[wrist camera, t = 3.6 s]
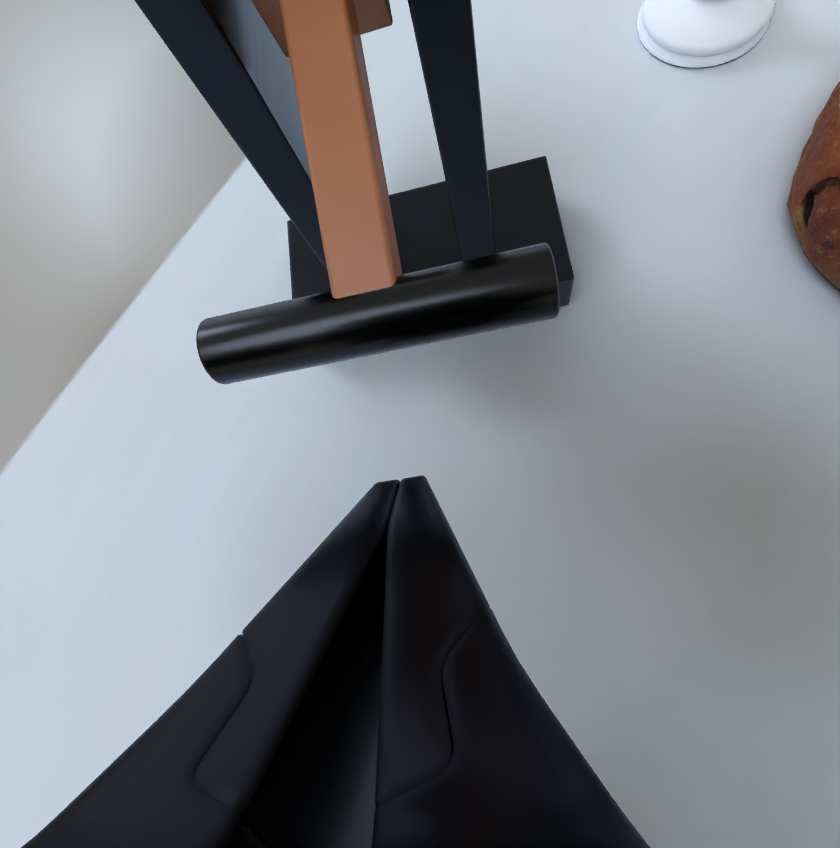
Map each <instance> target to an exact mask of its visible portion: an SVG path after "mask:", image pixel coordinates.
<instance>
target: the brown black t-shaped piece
mask: <svg viewBox="0 0 840 848" xmlns="http://www.w3.org/2000/svg"><path fill="white" fill-rule="evenodd" d="M251 1H252V3H253V4H254V6H255V8H256V9H257V11H258V12H259V14H260V16H261V17H262V19H263V21H264V22H265V24H266V25H267V27H268V29H269V30H270V32H271V34H272V35H273V37H274V39H275V40H276V42H277V43H278V45H279V47H280V48H281V50H282V52H283V53H284V55H285V56H286V57H289V58H290V63H291V69H292V74H293V80H294V86H295V91H296V97H297V102H298V108H299V113H300V119H301V125H302V130H303V136H304V141H305V147H306V152H307V158H308V164H309V169H310V175H311V180H312V186H313V192H314V197H315V203H316V208H317V214H318V219H319V225H320V231H321V236H322V242H323V247H324V253H325V258H326V264H327V270H328V275H329V281H330V286H331V291H327V292H323V293H318V294H314V295H309V296H305V297H300V298H296V299H292V300H287V301H283V302H278V303H274V304H269V305H265V306H261V307H256V308H252V309H247V310H243V311H238V312H234V313H229V314H225V315H221V316H216V317H212V318H207V319H205V320H203V321H202V322H201V323H200V325H199V327H198V330H197V336H196V341H197V349H198V353H199V357H200V360H201V362H202V364H203V366H204V368H205V370H206V371H207V373H208V374H209V375H210V377H211V378H212V379H214V380H215V381H216V382H218V383H221V384H230V383H235V382H240V381H245V380H250V379H255V378H260V377H264V376H269V375H274V374H279V373H284V372H289V371H294V370H299V369H304V368H309V367H314V366H319V365H324V364H329V363H334V362H339V361H344V360H349V359H354V358H359V357H364V356H369V355H374V354H379V353H384V352H389V351H394V350H399V349H404V348H409V347H414V346H419V345H424V344H429V343H434V342H439V341H444V340H449V339H454V338H459V337H464V336H469V335H474V334H479V333H484V332H489V331H494V330H499V329H504V328H509V327H514V326H519V325H523V324H528V323H533V322H538V321H543V320H548V319H553V318H556V317H557V316H558V313H559V289H558V280H557V274H556V268H555V263H554V259H553V255H552V252H551V249H550V247H549V245H548V244H547V243H540V244H536V245H531V246H527V247H522V248H518V249H513V250H509V251H505V252H500V253H496V254H491V255H487V256H482V257H478V258H473V259H469V260H465V261H460V262H456V263H451V264H447V265H442V266H438V267H434V268H429V269H425V270H420V271H416V272H411V273H407V274H402V269H401V263H400V257H399V252H398V246H397V241H396V235H395V229H394V224H393V218H392V212H391V207H390V201H389V195H388V190H387V184H386V178H385V173H384V167H383V161H382V156H381V150H380V144H379V139H378V133H377V128H376V122H375V116H374V111H373V105H372V99H371V94H370V88H369V82H368V77H367V71H366V65H365V60H364V54H363V48H362V43H361V37H360V35H361V34H364V33H368V32H371V31H374V30H377V29H381V28H384V27H387V26H390V25H392V22H393V21H392V15H391V9H390V4H389V0H251Z"/></svg>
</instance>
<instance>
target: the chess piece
mask: <svg viewBox="0 0 840 848" xmlns="http://www.w3.org/2000/svg"><path fill="white" fill-rule="evenodd" d="M775 3H776V0H644V1H643V5H642V7H641V9H640V11H639V14H638V19H637V30H638V34H639V37H640V40H641V42H642V43H643V45H644V46H645V48H646V49H647V50H648V51H649V52H650V53H651V54H653V55H654V56H655V57H657V58H658V59H660V60H662V61H664V62H667V63H669V64H673V65H676V66H681V67H690V68H701V67H710V66H715V65H719V64H723V63H726V62H728V61H731V60H733V59H735V58H737V57H739V56H741V55H743V54H744V53H746V52H747V51H749V50H750V49H751V48H752V47H754V46H755V45H756V44H757V43H758V42H759V40H760V39H761V38H762V37H763V35H764V34H765V32H766V30H767V28H768V26H769V23H770V20H771V15H772V13H773V10H774V7H775Z"/></svg>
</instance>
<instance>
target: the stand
mask: <svg viewBox="0 0 840 848" xmlns="http://www.w3.org/2000/svg"><path fill="white" fill-rule="evenodd" d="M135 2H136V3H137V4H138V6H139V7H140V9H141V10H142V11H143V13H144V14H145V16H146V17H147V18H148V20H149V21H150V23H151V24H152V25H153V27H154V28H155V30H156V31H157V32H158V34H159V35H160V37H161V38H162V39H163V41H164V42H165V44H166V45H167V47H168V48H169V49H170V51H171V52H172V53H173V55H174V56H175V58H176V59H177V60H178V62H179V63H180V65H181V66H182V68H183V69H184V70H185V71H186V73H187V75H188V76H189V77H190V79H191V80H192V81H193V83H194V84H195V86H196V87H197V88H198V90H199V91H200V93H201V94H202V96H203V97H204V98H205V100H206V101H207V103H208V104H209V105H210V107H211V108H212V110H213V111H214V112H215V114H216V115H217V117H218V118H219V119H220V121H221V122H222V124H223V125H224V126H225V128H226V129H227V131H228V132H229V133H230V135H231V136H232V138H233V139H234V140H235V142H236V143H237V144H238V146H239V147H240V149H241V150H242V152H243V153H244V154H245V156H246V157H247V159H248V160H249V161H250V163H251V164H252V166H253V167H254V169H255V170H256V171H257V173H258V174H259V176H260V177H261V178H262V180H263V181H264V183H265V184H266V185H267V187H268V188H269V190H270V191H271V192H272V194H273V195H274V197H275V198H276V199H277V201H278V202H279V204H280V205H281V206H282V208H283V209H284V211H285V212H286V213H287V215H288V216H289V218H290V219H291V220H289V221H287V225H288V241H289V256H290V271H291V286H292V299H296V298H300V297H305V296H309V295H314V294H318V293H323V292H327V291H331V286H330V281H329V275H328V270H327V264H326V258H325V253H324V247H323V242H322V236H321V231H320V225H319V219H318V214H317V208H316V203H315V197H314V192H313V186H312V180H311V175H310V169H309V164H308V158H307V152H306V147H305V141H304V136H303V130H302V125H301V119H300V113H299V108H298V102H297V97H296V91H295V86H294V80H293V74H292V69H291V63H290V58H289V57H286V56H285V55H284V53H283V52H282V50H281V48H280V47H279V45H278V43H277V42H276V40H275V39H274V37H273V35H272V34H271V32H270V30H269V29H268V27H267V25H266V24H265V22H264V21H263V19H262V17H261V16H260V14H259V12H258V11H257V9H256V8H255V6H254V4H253V3H252V1H251V0H135ZM408 3H409V8H410V13H411V18H412V22H413V27H414V32H415V37H416V41H417V46H418V51H419V56H420V60H421V65H422V70H423V75H424V79H425V84H426V89H427V94H428V98H429V103H430V108H431V113H432V117H433V122H434V127H435V132H436V136H437V141H438V146H439V151H440V155H441V160H442V165H443V170H444V174H445V179H446V181H444V182H440V183H436V184H432V185H428V186H424V187H420V188H416V189H412V190H408V191H404V192H400V193H396V194H392V195H389V201H390V207H391V212H392V218H393V224H394V229H395V235H396V241H397V246H398V252H399V257H400V263H401V269H402V274H407V273H411V272H416V271H420V270H425V269H429V268H434V267H438V266H442V265H447V264H451V263H456V262H460V261H465V260H469V259H473V258H478V257H482V256H487V255H491V254H496V253H500V252H505V251H509V250H513V249H518V248H522V247H527V246H531V245H536V244H540V243H547V244H548V245H549V247H550V249H551V252H552V255H553V259H554V263H555V268H556V274H557V280H558V289H559V307H561V306H566V305H569V301H570V296H571V291H572V285H573V280H574V275H573V270H572V266H571V262H570V257H569V253H568V249H567V245H566V240H565V236H564V232H563V227H562V223H561V219H560V214H559V210H558V206H557V202H556V197H555V193H554V189H553V184H552V180H551V176H550V172H549V167H548V163H547V159H546V156H543V157H539V158H535V159H531V160H527V161H523V162H519V163H515V164H511V165H507V166H503V167H499V168H495V169H491V170H487V164H486V154H485V143H484V132H483V122H482V111H481V101H480V90H479V79H478V69H477V58H476V48H475V37H474V26H473V16H472V5H471V0H408Z"/></svg>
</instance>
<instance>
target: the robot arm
mask: <svg viewBox="0 0 840 848" xmlns="http://www.w3.org/2000/svg"><path fill="white" fill-rule="evenodd" d="M242 634H243V635H238V636H237V637H236V638H235V639H234V640H233V641H232V643H231V644H230V645H229V646H228V647H227V648H226V649H225V650H224V651H223V652H222V654H221V655H220V656H219V657H218V658H217V659H216V660H215V661H214V662H213V663H212V664H211V665H210V666H209V668H208V669H207V670H206V671H205V672H204V673H203V674H202V675H201V676H200V677H199V678H198V679H197V680H196V681H195V682H194V683H193V685H192V686H191V687H190V688H189V689H188V690H187V691H186V692H185V693H184V694H183V695H182V696H181V697H180V698H179V699H178V700H177V701H176V702H175V703H174V704H173V705H172V706H171V707H170V708H169V709H168V710H167V711H166V712H165V713H164V714H163V715H162V716H161V717H160V718H159V719H158V720H157V721H155V722H154V723H153V724H152V725H151V726H150V727H149V728H148V729H147V730H146V731H145V732H144V733H143V734H142V735H141V736H140V737H139V738H138V739H137V740H136V741H135V742H134V743H133V744H132V745H131V746H130V747H129V748H128V749H126V750H125V751H124V752H123V753H122V754H121V755H120V756H119V757H118V758H117V759H116V760H115V761H114V762H113V763H112V764H111V765H110V766H109V767H108V768H107V769H106V770H105V771H104V772H103V773H101V774H100V775H99V776H98V777H97V778H96V779H95V780H94V781H93V782H92V783H91V784H90V785H89V786H88V787H87V788H86V789H85V790H84V791H83V792H82V793H81V794H80V795H79V796H78V797H77V798H75V799H74V800H73V801H72V802H71V803H70V804H69V805H68V806H67V807H66V808H65V809H64V810H63V811H62V812H61V813H60V814H59V815H58V816H57V817H56V818H55V819H54V820H52V821H51V822H50V823H49V824H48V825H47V826H46V827H45V828H44V829H43V830H41V831H40V832H39V833H38V834H37V835H36V836H35V837H34V838H32V839H31V840H30V841H29V842H27V843H26V844H25V845H24V846H22V847H21V848H651V847H650V846H649V845H648V844H647V843H646V841H645V840H644V839H643V838H642V836H641V835H640V834H639V833H638V831H637V830H636V829H635V827H634V826H633V825H632V823H631V822H630V821H629V820H628V818H627V817H626V816H625V814H624V813H623V812H622V810H621V809H620V807H619V806H618V805H617V803H616V802H615V801H614V799H613V798H612V797H611V795H610V794H609V792H608V791H607V790H606V788H605V787H604V785H603V784H602V782H601V781H600V780H599V778H598V777H597V775H596V774H595V772H594V771H593V770H592V768H591V767H590V765H589V764H588V762H587V761H586V760H585V758H584V757H583V755H582V754H581V752H580V751H579V749H578V748H577V747H576V745H575V744H574V742H573V741H572V739H571V738H570V737H569V735H568V734H567V732H566V731H565V729H564V728H563V727H562V725H561V724H560V722H559V721H558V719H557V718H556V717H555V715H554V714H553V712H552V711H551V709H550V708H549V707H548V705H547V704H546V702H545V701H544V699H543V698H542V696H541V695H540V693H539V692H538V690H537V689H536V687H535V686H534V684H533V683H532V681H531V679H530V678H529V676H528V675H527V673H526V672H525V670H524V669H523V667H522V665H521V664H520V662H519V661H518V659H517V657H516V655H515V653H514V652H513V650H512V648H511V646H510V644H509V643H508V641H507V639H506V637H505V635H504V633H503V632H502V630H501V628H500V626H499V624H498V622H497V620H496V617H495V615H494V613H493V611H492V610H491V609H490V607H489V604H488V602H487V600H486V598H485V596H484V594H483V592H482V590H481V588H480V586H479V584H478V582H477V580H476V578H475V576H474V574H473V572H472V570H471V568H470V566H469V564H468V562H467V560H466V558H465V556H464V554H463V552H462V550H461V548H460V546H459V544H458V541H457V539H456V537H455V535H454V533H453V531H452V529H451V527H450V525H449V523H448V521H447V519H446V517H445V515H444V513H443V511H442V509H441V507H440V505H439V503H438V501H437V499H436V497H435V495H434V493H433V491H432V489H431V487H430V485H429V483H428V481H427V479H426V477H424V476H416V477H410V478H404V479H402V480H401V482H400V481H399V480H390V481H384V482H378V483H376V484H375V485H374V486H373V487H372V488H371V489H370V490H369V491H368V492H367V493H366V495H365V496H364V497H363V498H362V499H361V500H360V501H359V502H358V503H357V505H356V506H355V507H354V508H353V509H352V510H351V511H350V512H349V513H348V514H347V516H346V517H345V518H344V519H343V520H342V521H341V522H340V523H339V524H338V526H337V527H336V528H335V529H334V530H333V531H332V532H331V533H330V534H329V535H328V537H327V538H326V539H325V540H324V541H323V542H322V543H321V544H320V545H319V547H318V548H317V549H316V550H315V551H314V552H313V553H312V554H311V555H310V557H309V558H308V559H307V560H306V561H305V562H304V563H303V564H302V565H301V566H300V568H299V569H298V570H297V571H296V572H295V573H294V574H293V575H292V576H291V578H290V579H289V580H288V581H287V582H286V583H285V584H284V585H283V586H282V587H281V589H280V590H279V591H278V592H277V593H276V594H275V595H274V596H273V597H272V599H271V600H270V601H269V602H268V603H267V604H266V605H265V606H264V607H263V609H262V610H261V611H260V612H259V613H258V614H257V615H256V616H255V617H254V618H253V620H252V621H251V622H250V623H249V624H248V625H247V626H246V627H245V628H244V630H243V632H242Z"/></svg>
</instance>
